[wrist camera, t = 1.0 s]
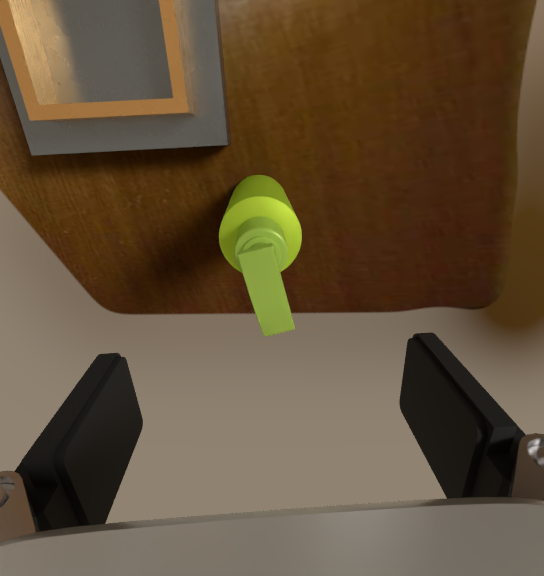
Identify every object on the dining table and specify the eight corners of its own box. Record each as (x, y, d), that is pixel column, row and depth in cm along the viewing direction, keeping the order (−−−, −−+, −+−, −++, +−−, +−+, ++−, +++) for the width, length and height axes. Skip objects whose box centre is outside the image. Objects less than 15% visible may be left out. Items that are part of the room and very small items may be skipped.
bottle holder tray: (-26, -130, 25) (-123, -220, 19) (205, -139, 25) (188, -230, 19) (56, 153, 33) (8, 157, 27) (230, 143, 33) (224, 146, 27)
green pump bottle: (243, 245, 38) (231, 349, 20) (223, 183, 35) (188, 237, 17) (294, 232, 37) (330, 325, 19) (279, 168, 35) (304, 206, 16)
